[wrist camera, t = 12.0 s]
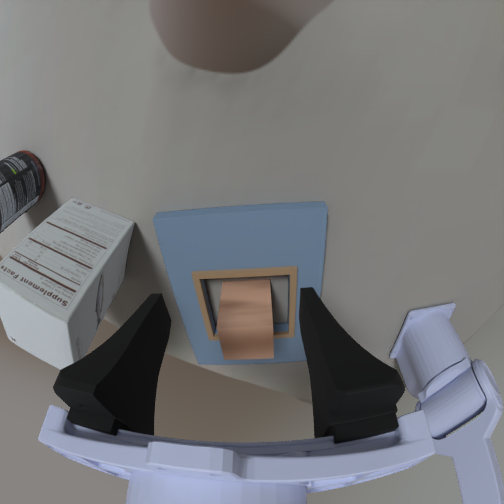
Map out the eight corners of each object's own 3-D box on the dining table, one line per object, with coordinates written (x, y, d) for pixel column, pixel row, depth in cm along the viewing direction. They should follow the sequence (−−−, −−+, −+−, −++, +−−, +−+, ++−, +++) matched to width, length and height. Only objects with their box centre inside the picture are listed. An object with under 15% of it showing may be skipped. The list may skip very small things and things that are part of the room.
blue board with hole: (310, 352, 33) (311, 362, 31) (199, 356, 33) (198, 366, 32) (324, 201, 22) (328, 209, 21) (157, 212, 23) (151, 221, 21)
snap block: (270, 312, 29) (273, 358, 24) (228, 313, 29) (224, 359, 24) (269, 279, 26) (273, 326, 21) (222, 281, 27) (216, 328, 22)
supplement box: (125, 279, 27) (77, 380, 16) (68, 253, 25) (5, 339, 14) (138, 220, 23) (69, 326, 12) (72, 193, 21) (-17, 275, 11)
